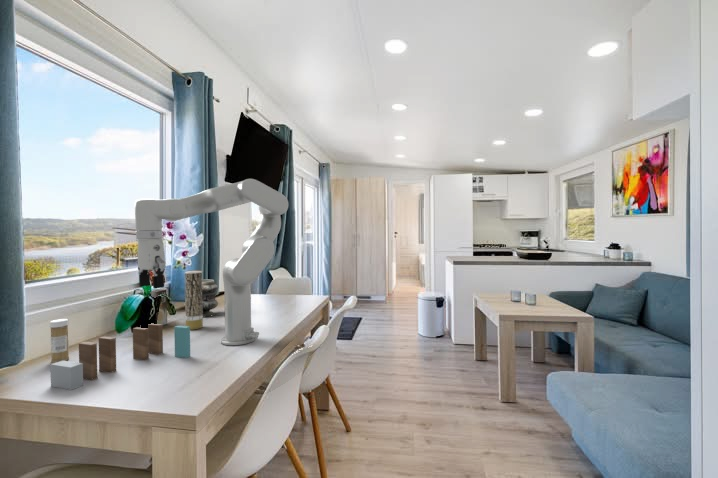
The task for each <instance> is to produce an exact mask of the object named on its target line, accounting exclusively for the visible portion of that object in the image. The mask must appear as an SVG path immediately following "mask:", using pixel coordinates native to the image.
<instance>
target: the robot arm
mask: <svg viewBox="0 0 718 478" xmlns="http://www.w3.org/2000/svg"><path fill="white" fill-rule="evenodd" d="M249 203H254V204H255V205H257V206H258V210H259V213H260V221H259V223H258V225H257V226H256V227H255V229H254V230H253V231H252V233H251V234H250V235H249V237H248V238H247V239H246V240H245V241H244V242H243V245H242V248H241V252H242V255H241V257H240V258H237V257H236V258H231V259H230V260H228V261H227V262H226V263H225V264H224V266H223V268H222V280H223V288H224V289H223V290H224V292H223V293H224V335H225V336H223V337H222V338H221V339H220V343H221V345H224V346H240V345H246V344H250V343H252V342H254V341H255V340H256V339H258V338H259V336H260V332H259V331H255V328H254V327H252V303H251V302H252V294H251V293H252V291H251V284H253V283H254V282H256V280H257V279H258V278H259V277H260V275H261V274H262V273H263V271H264V270H265V269H266V267H267V265H268V264H269V263H270V261H271V260H272V259H273V256H274V255H275V248H276V247H275V243H274V241H275V240H276V238H277V236H278V234H279V233H280V230H281V228H282V227H281V226H282V218H281V215H283V214H285V213H286V212H287V211H288V209H289V200H288V198H287V197H286V196H285V195H284V194H283V193H281V192H279V190H278V191H277V190H276V189H273V187H271V186H268V185H266V184H265V183H263V182H261V181H259V180H258V179H254V178H246V179H244V180H241V181H237V182H234V183H231V184H230V183H229V184H226V185H225V184H224V185H221V186H217V187H211V188H208V189H205V190H203V191H201V192H198V193H196V194H192V195H188V196H186V197H181V198H166V199H157V198H156V199H154V198H140V199H139V198H138V199H136V200H135V202H134V216H135V221H134V222H135V240H136V241H137V262H136V263H137V266H138V267H137V270H138V279H139V287H140V288H141V287H147V286H148V287H149V286H150V285H151V273H150V271H151V272H152V274H153V276H152V286H153V289H162V288H164V287H165V276H164V275H165V270H166V265H167V263H166V255H165V248H164V247H165V246H164V242H163V227H162V226H163V225H162V223H163V222H162V220H166V221H167V222H176V221H181V220H183V219H188V218H192V217H195V216H199V215H203V214H209V213H215V212H218V211H223V210H226V209H230V208H233V207H237V206H241V205H246V204H249Z"/></svg>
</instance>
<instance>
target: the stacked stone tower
mask: <svg viewBox="0 0 718 478" xmlns="http://www.w3.org/2000/svg"><path fill="white" fill-rule="evenodd" d="M218 288H219V287H218V285H217V284H216V282H215V280H214V279H202V309H203V318H206V317H205V316H210V317H212V316H211V315H214V314H215V315H216V314H217V313H216V312H214V311H211V310H214V309H215V308H217V307H218V304H219V302H218V301H217V299H216V291H217V290H218ZM215 315H214V316H215Z"/></svg>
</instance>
